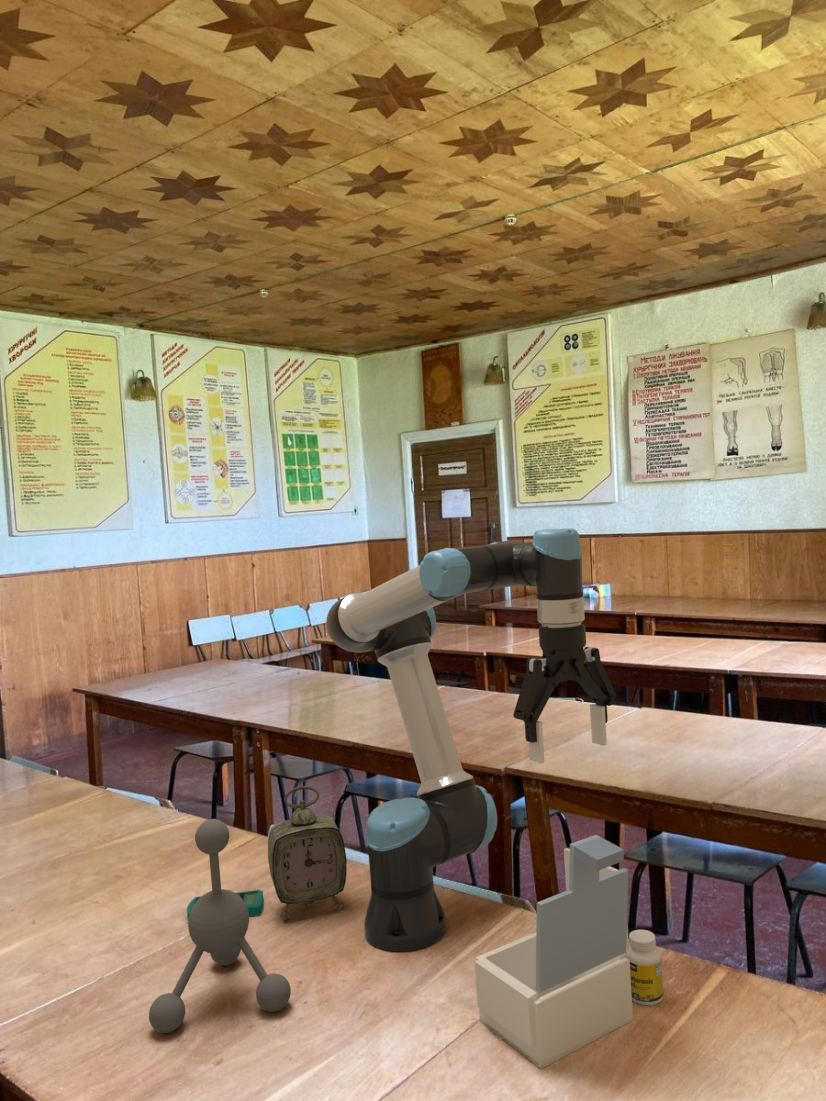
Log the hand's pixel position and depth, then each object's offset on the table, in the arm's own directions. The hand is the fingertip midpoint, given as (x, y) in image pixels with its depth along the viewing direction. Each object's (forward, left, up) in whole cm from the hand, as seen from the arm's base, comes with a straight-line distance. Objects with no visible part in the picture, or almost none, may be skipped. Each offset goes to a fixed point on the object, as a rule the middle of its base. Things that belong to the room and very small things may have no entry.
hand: (569, 752), depth 141 cm
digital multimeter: (-61, -39, -37) cm, 81 cm away
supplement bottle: (+12, +2, -37) cm, 39 cm away
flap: (+15, -13, -16) cm, 26 cm away
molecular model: (-30, -53, -37) cm, 71 cm away
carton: (+8, -13, -37) cm, 40 cm away
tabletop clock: (-50, -26, -37) cm, 67 cm away
